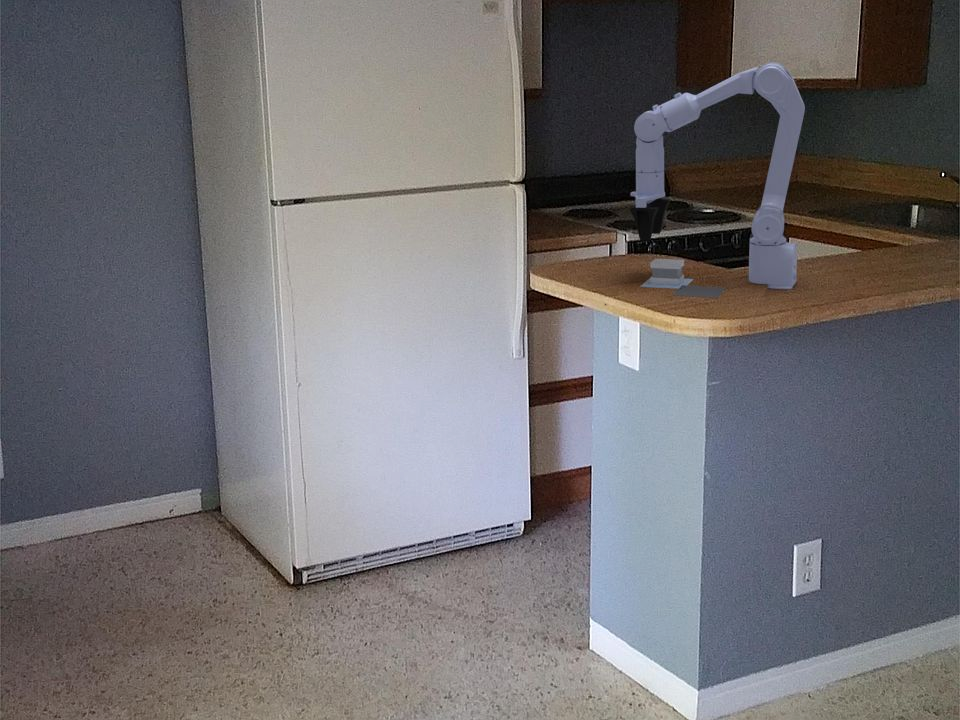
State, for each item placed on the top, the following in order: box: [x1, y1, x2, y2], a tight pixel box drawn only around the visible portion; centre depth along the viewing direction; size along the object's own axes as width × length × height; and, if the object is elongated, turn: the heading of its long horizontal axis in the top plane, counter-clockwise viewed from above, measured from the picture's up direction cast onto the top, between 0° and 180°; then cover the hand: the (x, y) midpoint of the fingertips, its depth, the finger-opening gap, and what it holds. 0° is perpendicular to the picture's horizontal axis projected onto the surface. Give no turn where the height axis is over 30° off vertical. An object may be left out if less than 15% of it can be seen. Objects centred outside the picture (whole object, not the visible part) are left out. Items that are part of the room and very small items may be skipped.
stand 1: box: [639, 278, 695, 290], centre depth 248 cm, size 9×9×1 cm
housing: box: [649, 258, 685, 286], centre depth 247 cm, size 6×4×4 cm, turn 67°
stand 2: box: [671, 285, 727, 299], centre depth 240 cm, size 9×9×1 cm
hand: (650, 236), depth 250 cm, fingers open, 7 cm apart
